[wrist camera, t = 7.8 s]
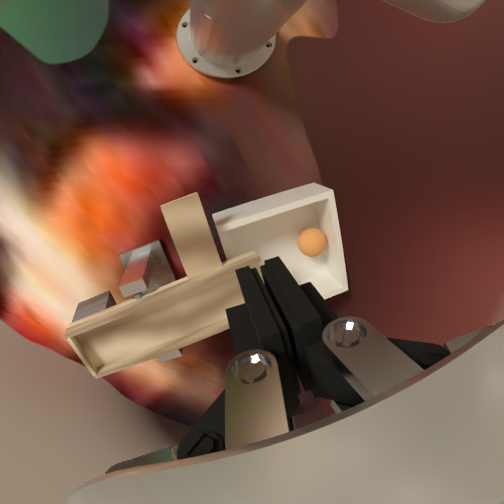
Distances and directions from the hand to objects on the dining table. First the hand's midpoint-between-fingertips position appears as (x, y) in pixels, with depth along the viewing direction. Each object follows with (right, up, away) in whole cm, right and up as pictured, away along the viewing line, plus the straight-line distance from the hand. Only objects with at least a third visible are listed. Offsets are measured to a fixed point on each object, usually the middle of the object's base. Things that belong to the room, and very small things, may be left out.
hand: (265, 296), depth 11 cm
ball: (+8, +3, +29) cm, 31 cm away
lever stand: (-14, -3, +30) cm, 33 cm away
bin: (+3, +2, +31) cm, 32 cm away
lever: (-13, 0, +25) cm, 29 cm away
